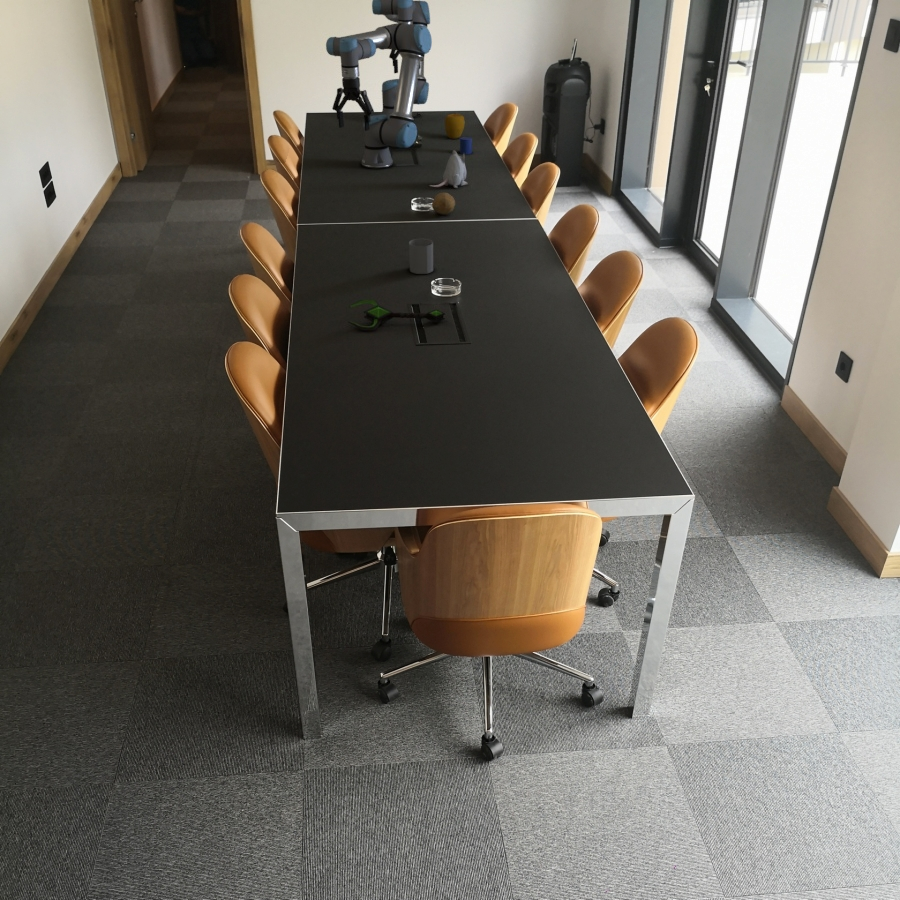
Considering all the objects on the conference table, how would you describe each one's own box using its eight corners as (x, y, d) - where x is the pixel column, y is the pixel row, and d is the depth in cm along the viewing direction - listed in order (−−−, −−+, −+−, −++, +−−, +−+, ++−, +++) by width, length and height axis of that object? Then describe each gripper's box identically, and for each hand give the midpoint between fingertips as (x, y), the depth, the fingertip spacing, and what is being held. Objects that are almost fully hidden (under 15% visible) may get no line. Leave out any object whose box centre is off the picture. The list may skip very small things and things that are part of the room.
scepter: (445, 294, 271) (348, 292, 269) (446, 325, 264) (347, 323, 262) (443, 307, 276) (349, 305, 274) (445, 338, 269) (347, 336, 267)
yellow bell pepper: (464, 140, 471) (464, 115, 464) (444, 140, 471) (444, 115, 464) (464, 135, 480) (464, 111, 473) (444, 135, 480) (444, 111, 473)
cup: (409, 265, 311) (408, 238, 306) (432, 265, 312) (431, 238, 307) (410, 274, 304) (409, 246, 299) (433, 273, 305) (433, 246, 299)
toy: (472, 184, 399) (472, 151, 391) (436, 195, 384) (436, 161, 376) (457, 180, 404) (458, 147, 396) (422, 191, 389) (421, 157, 381)
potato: (453, 208, 369) (453, 189, 365) (456, 218, 357) (456, 199, 353) (431, 208, 368) (430, 189, 364) (432, 218, 356) (432, 199, 352)
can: (463, 150, 452) (463, 136, 448) (473, 152, 450) (474, 137, 446) (457, 153, 448) (457, 138, 444) (468, 154, 445) (468, 140, 441)
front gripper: (321, 76, 375) (326, 127, 386) (370, 81, 365) (373, 133, 377) (331, 73, 380) (335, 123, 392) (380, 78, 370) (382, 129, 382)
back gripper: (381, 29, 451) (383, 73, 463) (421, 33, 440) (422, 77, 452) (389, 27, 457) (391, 70, 468) (429, 31, 446) (430, 75, 457)
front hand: (354, 128), depth 384 cm, fingers open, 13 cm apart
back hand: (406, 74), depth 460 cm, fingers open, 13 cm apart
